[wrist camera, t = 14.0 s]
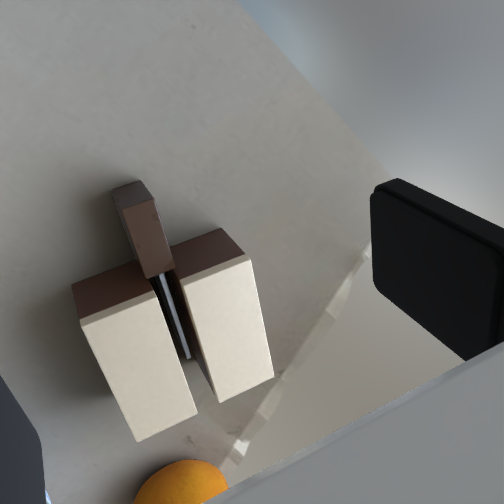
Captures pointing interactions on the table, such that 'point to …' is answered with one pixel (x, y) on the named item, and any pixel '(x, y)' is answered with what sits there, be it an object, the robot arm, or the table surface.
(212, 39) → the table surface
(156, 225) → the knife
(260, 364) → the cake
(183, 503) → the fruit
